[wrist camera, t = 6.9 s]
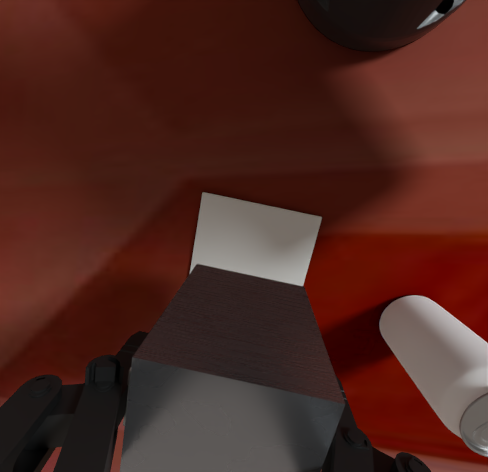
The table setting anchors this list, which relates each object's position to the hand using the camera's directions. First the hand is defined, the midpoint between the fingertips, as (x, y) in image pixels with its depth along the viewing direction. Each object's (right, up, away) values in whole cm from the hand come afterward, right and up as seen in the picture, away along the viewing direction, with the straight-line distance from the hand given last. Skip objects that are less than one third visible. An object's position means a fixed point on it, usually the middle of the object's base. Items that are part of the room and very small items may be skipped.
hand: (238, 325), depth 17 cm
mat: (+1, +3, +12) cm, 12 cm away
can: (+18, -3, +12) cm, 22 cm away
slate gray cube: (0, 0, 0) cm, 0 cm away
